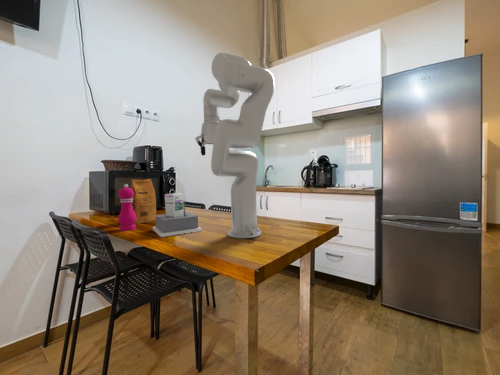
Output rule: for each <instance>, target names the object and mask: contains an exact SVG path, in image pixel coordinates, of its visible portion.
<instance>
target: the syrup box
mask: <svg viewBox="0 0 500 375" xmlns="http://www.w3.org/2000/svg"><path fill="white" fill-rule="evenodd" d="M164 205H165V214H166V217H168V218H174V217H184V216H185V212H186V200H185V193H184V192H173V193H166V194H165V193H164Z"/></svg>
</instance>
